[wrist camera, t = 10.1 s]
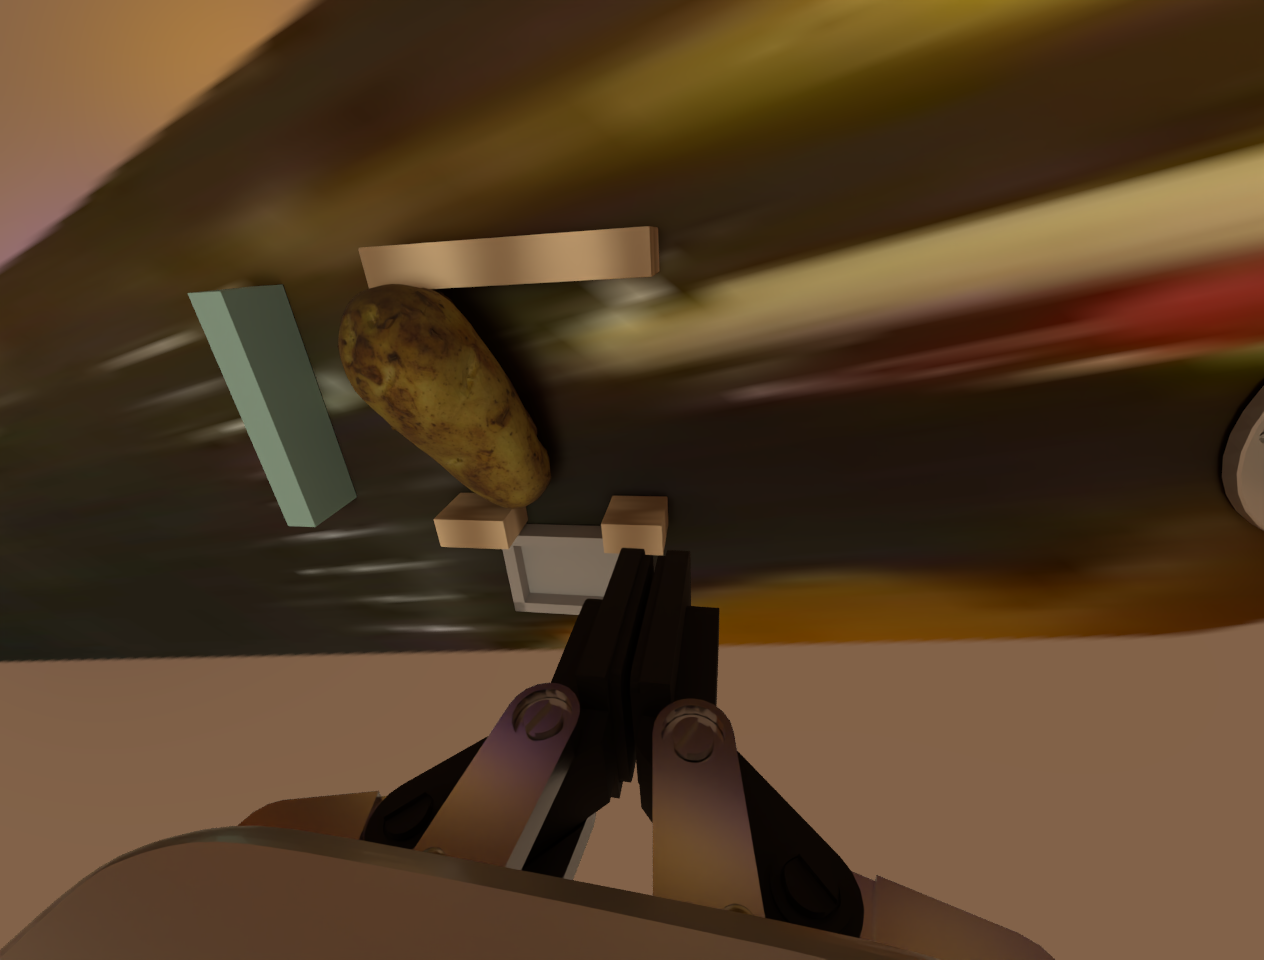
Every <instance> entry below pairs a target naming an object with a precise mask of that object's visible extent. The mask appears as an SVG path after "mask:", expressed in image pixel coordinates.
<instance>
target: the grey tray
mask: <svg viewBox="0 0 1264 960" xmlns="http://www.w3.org/2000/svg"><path fill="white" fill-rule="evenodd" d="M503 554H504V558H505V563H506V568H507V573H508V577H509V582H510V587H511V591H512V596H513V601H514V605H515V610H516V611H524V612H541V613H557V614H574V615H579V613H580V611H581V608H582V606H583V604H584V602H585V600H586V599H588V598H589V599H603V597H604V595H605V592H606V589H607V586H608V584H609V581H610V578H611V575H612V573H613V570H614V567H615V564H616V561H617V559H618V556H619V554H616V553H604V547H603V538H602V528H601V526H585V525H551V524H525V526H524V527H523V529H522V530H521V532H520V533H519V535H518V536H517V538H516V539H515V541H514V542H513V544H512V545H511V547H510V548H509V549H503Z"/></svg>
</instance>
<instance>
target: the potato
mask: <svg viewBox="0 0 1264 960" xmlns="http://www.w3.org/2000/svg"><path fill="white" fill-rule="evenodd" d="M436 290H437V291H433V290H430V289H427V288H419V287H414V286H409V285H404V284H387V285H381V286H377V287H373V288H370V289H367V290H365V291H362V292H360V293H359V294H357V295H356V296H355V297H354V298H353V299H352V300H351V301H350V302H349V304H348V305H347V307H346V309H345V311H344V313H343V316H342V320H341V324H340V330H339V345H338V348H339V352H340V358H341V361H342V364H343V367H344V370H345V373H346V375H347V378H348V379H349V381H350V383H351V385H352V386H353V388H354V390H355V391H356V392H357V393H358V395H359V396H360V397H361V398H362V399H363V400H364V401H365V402H366V403H367V404H368V405H369V406H370V407H371V408H373V409H374V410H375V411H376V412H377V413H378V414H379V415H381V416H382V417H383V418H384V419H385V420H386V421H387V422H388V423H389V424H390V425H391V427H392V429H393V430H397V431H398V432H399V433H401V434H402V435H403V436H404V437H406V438H407V439H408V440H410V441H411V442H412V443H414V444H415V445H416V446H417V447H418V448H420V449H421V450H423V451H424V452H425V453H427V454H428V455H430V456H431V457H432V458H433V459H435V460H436V461H437V462H438V463H439V464H441V465H442V466H443V467H444V468H445V469H446V470H448V471H449V472H450V473H451V474H452V475H453V476H454V477H455V478H456V479H457V480H459V481H460V482H461V483H462V484H464V485H465V486H466V487H468V488H469V489H470V490H471V491H473V492H475V493H476V494H478V495H480V496H481V497H483V498H485V499H486V500H487V501H490V502H492V503H494V504H496V505H499V506H501V507H505V508H508V509H519V508H523V507H525V506H527V505H529V504H531V503H533V502H534V501H536V500H537V499H539V497H540V496H541V495H542V494H543V493H544V491H545V490H546V488H547V486H548V485H549V483H550V480H551V474H550V464H549V456H548V454H547V450H546V449H545V448H544V447H543V446H542V444H541V443H540V441H538V438H537V435H536V434H537V428H536V425H535V424H534V422H533V420H532V418H531V417H530V415H529V413H528V412H527V410H526V409H525V408H524V406H523V404H522V402H521V400H520V398H519V396H518V394H517V392H516V390H515V388H514V386H513V385H512V383H511V381H510V380H509V378H508V377H507V375H506V374H505V372H504V371H503V369H502V368H501V366H500V365H499V363H498V362H497V360H496V359H495V357H494V356H493V355H492V353H491V352H490V350H489V349H488V348H487V346H486V345H485V344H484V343H483V341H482V340H481V339H480V337H479V336H478V334H477V333H476V331H475V330H474V328H473V327H472V325H471V324H470V323H469V322H468V320H467V319H466V318H465V317H464V316H463V315H462V313H461V312H460V311H459V310H458V309H457V308H456V307H455V306H456V305H455V304H453V303H452V300H451V299H450V298H448V297H447V296H446V295H444V294H443V293H442V292H440V290H439V289H436ZM453 302H454V301H453Z"/></svg>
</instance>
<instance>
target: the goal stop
mask: <svg viewBox="0 0 1264 960" xmlns="http://www.w3.org/2000/svg"><path fill="white" fill-rule="evenodd" d="M188 295H189V298H190V300H191V302H192V305H193V307H194V309H195V312H196V314H197V316H198V319H199V321H200V323H201V325H202V328H203V330H204V332H205V335H206V337H207V339H208V342H209V344H210V346H211V349H212V351H213V353H214V356H215V358H216V360H217V362H218V365H219V367H220V369H221V372H222V374H223V376H224V379H225V381H226V383H227V386H228V388H229V390H230V392H231V395H232V397H233V399H234V402H235V404H236V406H237V409H238V411H239V413H240V416H241V418H242V420H243V423H244V425H245V427H246V429H247V432H248V434H249V436H250V439H251V441H252V443H253V446H254V448H255V450H256V453H257V455H258V457H259V459H260V462H261V464H262V466H263V469H264V471H265V473H266V476H267V478H268V480H269V483H270V485H271V487H272V490H273V492H274V494H275V496H276V499H277V501H278V503H279V506H280V508H281V510H282V513H283V515H284V517H285V520H286V522H287V524H288V526H306V527H316V526H317V525H319V524H320V523H322V522H323V521H324V520H326V519H327V518H329V517H330V516H331V515H333V514H334V513H336V512H337V511H338V510H340V509H341V508H342V507H344V506H345V505H347V504H348V503H349V502H351V501H352V500H354V499H355V498H356V497H357V496H356V493H355V490H354V487H353V484H352V481H351V479H350V476H349V473H348V470H347V467H346V464H345V462H344V459H343V456H342V453H341V450H340V447H339V444H338V442H337V439H336V436H335V433H334V430H333V427H332V424H331V422H330V419H329V416H328V413H327V410H326V407H325V404H324V402H323V399H322V396H321V393H320V390H319V387H318V384H317V382H316V379H315V376H314V373H313V370H312V367H311V364H310V362H309V359H308V356H307V353H306V350H305V347H304V344H303V342H302V339H301V336H300V333H299V330H298V327H297V324H296V322H295V319H294V316H293V313H292V310H291V307H290V304H289V302H288V299H287V296H286V293H285V290H284V287H283V285H268V286H252V287H243V288H233V289H224V290H214V291H205V292H195V293H188Z"/></svg>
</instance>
